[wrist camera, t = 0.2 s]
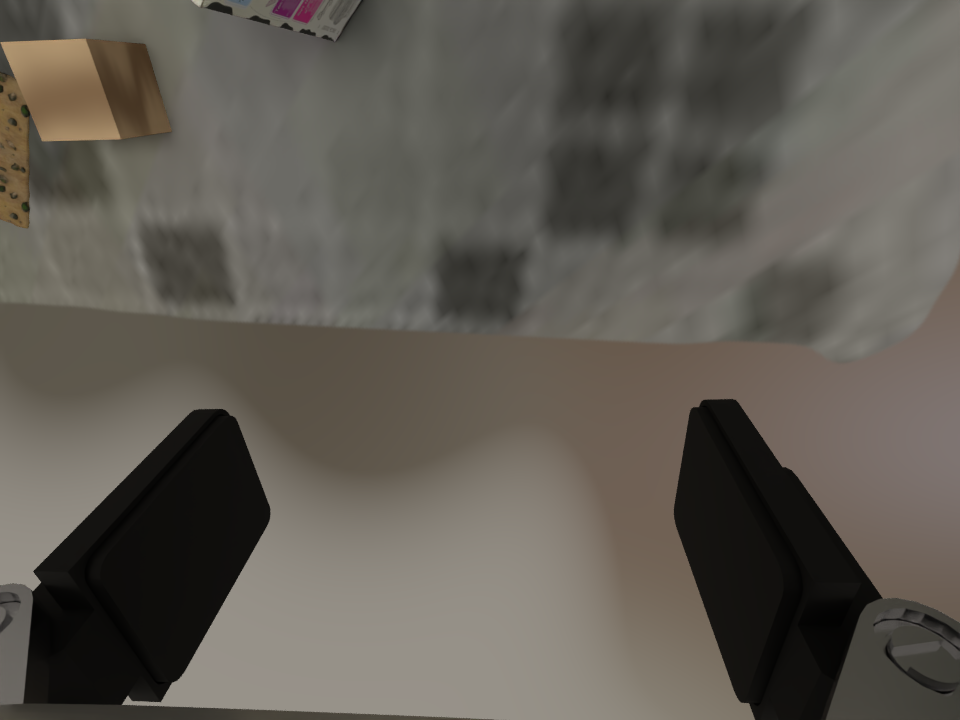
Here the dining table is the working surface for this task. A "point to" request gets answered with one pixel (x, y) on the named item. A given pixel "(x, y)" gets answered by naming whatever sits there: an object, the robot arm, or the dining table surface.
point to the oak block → (88, 88)
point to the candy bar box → (291, 14)
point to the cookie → (14, 153)
